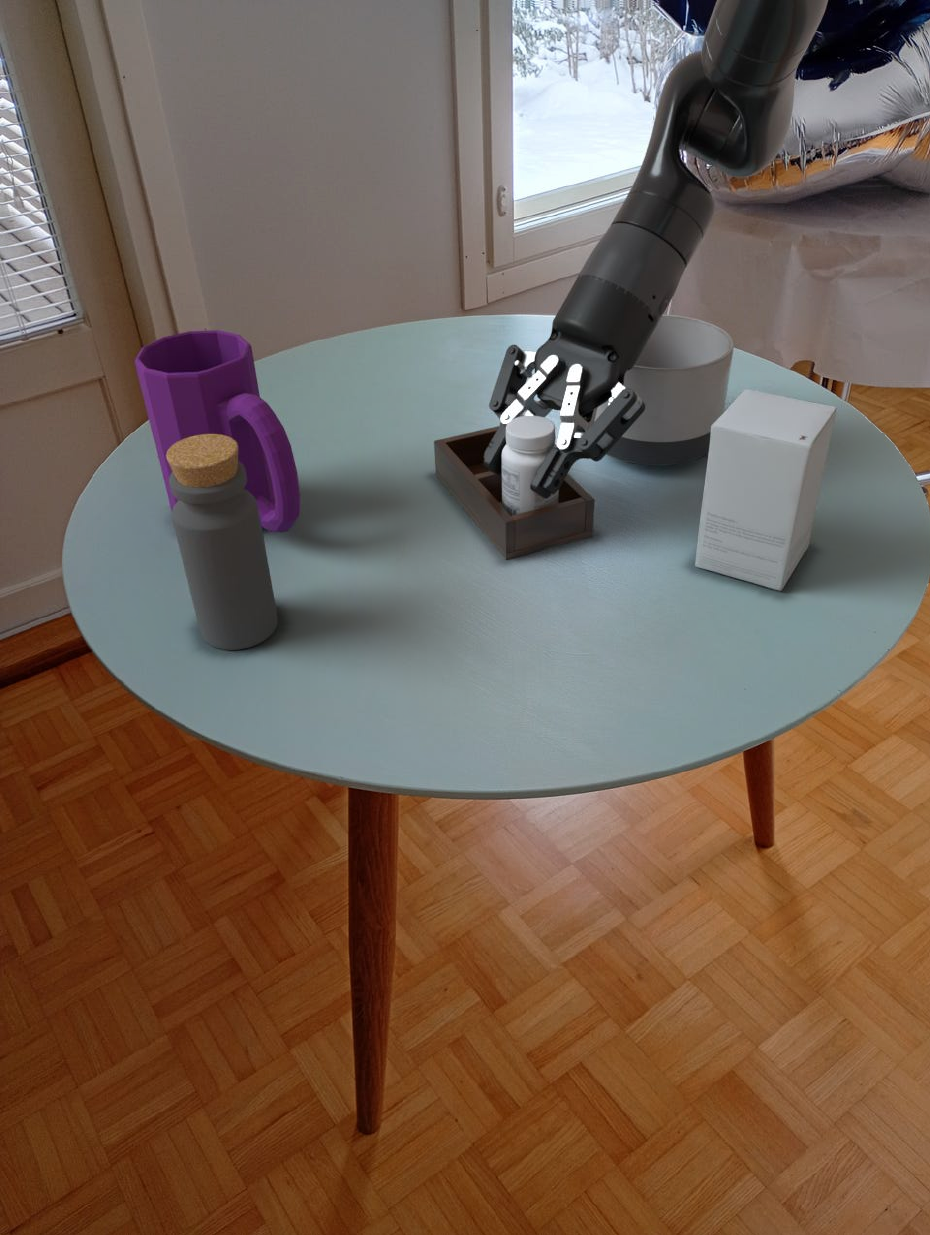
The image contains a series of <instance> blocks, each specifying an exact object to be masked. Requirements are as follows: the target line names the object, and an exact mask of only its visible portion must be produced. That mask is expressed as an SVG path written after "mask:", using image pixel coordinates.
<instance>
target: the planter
mask: <svg viewBox="0 0 930 1235" xmlns="http://www.w3.org/2000/svg"><path fill="white" fill-rule="evenodd" d="M734 348H735V343H734V340H733V337H732V336H731V335H730V334H729V332H727V331H726V330H724V329H723V328H721V327H720V326H717V325H715V324H713V323H711V322H708V321H705V320H702V319H698V318H695V317H689V316H683V315H676V314H675V315H674V314H663V315H662V317H661V319H660V320H659V322H658V324H657V326H656V328H655V329H654V331H653V333H652V335H651V336H650V338H649V340H648V342H647V343H646V345H645V347H644V349H643V350H642V352H641V354H640V356H639V357H638V359H637V361H636V363H635V364H634V366H633V367H632V368H631V369H630V370H628V371H626V373H625V377H624V387H626V388H631V389H632V390H633V391H634V392H635V393H636V394H637V395H638V396H639V397H640V398H641V400H642V401H643V402H644V403H645V406H646V407H645V410H644V412H643V413H642V414H641V415H640V416H639V417H638V419H637V420H636V421H635V422H634V423H633V424H632V425H631V426H630V428H629V429H628V430H627V431H626V432H625V433H624V434H623V435H622V437H621V438H620V439H619V440H618V441H617V442H616V443H615V445H614V446H613V447H612V448H611V449H610V450H609V451H608V452H607V454H606V455H607V456H610V457H612V458H614V459H617V460H620V461H623V462H628V463H633V464H639V465H646V466H647V465H648V466H668V465H669V466H670V465H677V464H684V463H687V462H691V461H694V460H697V459H701V458H703V457H705V456H707V455H709V447H710V436H711V426H712V424H714V422H715V421H716V420H717V419H718V418H719V417H720V416H721V415H722V414H723V413H724V412H725V411H726V402H727V397H728V396H727V395H728V390H729V382H730V375H731V370H732V362H733V356H734ZM608 403H609V401H607V402H605V403H604V404H602V405H600V406H599V407H598V408H597V412H596V416H595V420H596V419H597V418H598V417H599V416H600V415H601V414H602V412H603V411H604V410H605V409H606V408H607V407H608ZM594 422H595V421H594Z"/></svg>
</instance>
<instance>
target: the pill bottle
mask: <svg viewBox="0 0 930 1235" xmlns="http://www.w3.org/2000/svg"><path fill="white" fill-rule="evenodd" d="M556 438H557V437H556V424H555V423H554V421H552V420H551V419H548V418H547V417H540V416H522V417H518V418H515V419H513V420H511V421H510V422H508V424H507V426H506V445H505V447H504V448H503V450H502V507H503V508H504V509H505V510H506V511H507V512H508V513H509V515H510V516H512V515H516V514H520V513H524V512H527V511H531V510H535V509H539V508H543V507H547V506H551V505H555V504H558V498H559V490H558V491H557V492H556V493H555V494H551V495H550V497H549V498H547V499H545V498H543V497H541V496H539V495H538V494H536V493H535V492H533V491H532V490H531V489H530V485H531V483H532V481H533V479H534V477H535V475H536V474H537V472H538V470H539V468H540V467H541V465H542V463H543V461H544V460H545V458H546V456H547V454H548V453H549V451H550V449H551V447H552V448H555V449H556V448H557V443H556V440H557V439H556Z"/></svg>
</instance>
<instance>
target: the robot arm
mask: <svg viewBox="0 0 930 1235" xmlns="http://www.w3.org/2000/svg"><path fill="white" fill-rule="evenodd" d="M828 2H829V0H716V1H715V5H714V7H713V11H712V13H711V16H710V19H709V21H708V24H707V27H706V30H705V34H704V37H703V40H702V44H701V50H697V51H693V52H692V53H689V54H687V55H686V56H684V57H683V58H681V59H680V60H679V61H678V62H677V63H676V64H675V65H674V66H673V68H672V69H671V71H670V73H669V74H668V76H667V77H666V80H665V81H664V84H663V87H662V89H661V92H660V96H659V99H658V105H657V107H656V108H657V109H656V113H655V117H654V121H653V125H652V130H651V134H650V138H649V141H648V144H647V148H646V152H645V154H644V157H643V161H642V163H641V166H640V168H639V170H638V173H637V175H636V178H635V180H634V182H633V184H632V185H631V187H630V189H629V191H628V193H627V195H626V196H625V199H624V201H623V202H622V205H621V206H620V207H619V210H618V211H617V213H616V215H615V217H614V218H613V220H612V222H611V224H610V225H609V227H608V229H607V230H606V232H605V233H604V234H603V236H602V237H601V238H600V240H599V241H598V242H597V243H596V244H595V246H594V248H593V250H592V251H591V253H590V254H589V255H588V258H587V260H586V261H585V263H584V264H583V267H582V269H581V270H580V272H579V273H578V275H577V277H576V279H575V281H574V283H573V285H572V286H571V288H570V290H569V292H568V294H567V295H566V297H565V299H564V300H563V302H562V304H561V306H560V308H559V310H558V311H557V313H556V315H555V316H554V318H553V320H552V325H551V332H550V335H549V337H548V339H547V340H546V341H545V342H544V343H543V344H542V345H540V346H539V347H538V349H536V350H522V349H521V348H520V347H519V345H517V344H511V345H509V346H508V348H507V349H506V351H505V354H504V357H503V361H502V362H501V366H500V369H499V373H498V376H497V378H496V382H495V385H494V388H493V391H492V395H491V397H490V400H489V404H488V408H489V409H490V410H491V411H492V412H493V413H494V414H495V415H496V417H497V418H498V419H499V425H498V426H499V428H498V430H497V431H496V433H495V435H494V437H493V439H492V440H491V442H490V444H489V446H488V447H487V449H486V451H485V454H484V459H485V460H484V463H483V464H484V467H486V468H487V469H488V470H490V471H491V472H493V473H495V474H497V475H502V450H503V448H504V447H505V445H506V426H507V424H508V422H510V421H511V420H513V419H515V418H518V417H522V416H540V417H544V418H547V416H548V415H549V414H550V413H551V412H552V411H553V410H554V411H559V412H560V413H559V419H560V426H559V431H558V436H557V439H556V446H557V448H556V449H555V448H552V447H551V449H550V451H549V453H548V454H547V456H546V458H545V460H544V461H543V463H542V465H541V467H540V468H539V470H538V472H537V474H536V475H535V477H534V479H533V481H532V483H531V485H530V489H531V490H532V491H533V492H535V493H536V494H538V495H539V496H541V497H543V498H545V499H547V498H549V497H550V495H551V494H555V493H556V492H557V491H558V490H559V488H560V486H561V485H562V483H563V481H564V479H565V478H566V476H567V474H568V475H569V473H570V470H571V469H572V467H573V465H574V463H576V462H577V461H579V460H582V459H585V460H587V459H588V460H589V459H590V460H592V461H593V462H600V461H601V460H602V459H603V458H604V457H605V456H606V455H607V452H608V451H609V450H610V449H611V448H612V447H613V446H614V445H615V443H616V442H617V441H618V440H619V439H620V438H621V437H622V435H623V434H624V433H625V432H626V431H627V430H628V429H629V428H630V426H631V425H632V424H633V423H634V422H635V421H636V420H637V419H638V417H639V416H640V415H641V414H642V413H643V412H644V410H645V407H646V406H645V403H644V402H643V401H642V400H641V398H640V397H639V396H638V395H637V394H636V393H635V392H634V391H633V390H632V389H631V388H626V387H624V377H625V373H626V371H628V370H630V369H631V368H632V367H633V366H634V364H635V363H636V361H637V359H638V357H639V356H640V354H641V352H642V350H643V349H644V347H645V345H646V343H647V342H648V340H649V338H650V336H651V335H652V333H653V331H654V329H655V328H656V326H657V324H658V322H659V320H660V319H661V317H662V315H664V313H665V312H666V310H667V309H668V307H669V304H670V303H671V301H672V299H673V297H674V296H675V293H676V291H677V289H678V287H679V284H680V282H681V279H682V276H683V275H684V273H685V271H686V268H688V265H689V264H690V261H691V260H692V258H693V256H694V255H695V253H696V251H697V249H698V248H699V247H700V244H701V243H702V240H703V239H704V238H705V235H706V233H707V232H708V230H709V228H710V227H711V225H712V223H713V220H714V218H715V216H716V215H715V214H716V212H717V204H716V200H715V197H714V196H713V194H712V192H711V190H709V188H708V186H706V185H705V184H704V183H703V181H701V180H700V178H698V177H697V176H696V175H695V173H693V172H692V171H691V170H690V169H689V168H688V167H687V166H686V164H685V163H684V161H683V160H682V156H681V151H683V152H686V153H687V154H688V155H690V156H693V157H694V158H696V159H697V160H700V161H702V162H703V163H705V164H707V165H709V166H711V167H713V168H714V169H716V170H718V171H720V172H722V173H723V174H726V175H728V176H730V177H732V178H733V177H734V178H738V179H742V178H743V179H744V178H748V177H753V176H755V175H757V174H760V173H761V172H762V171H764V170H765V169H766V168H767V167H769V166H770V164H771V163H772V162H773V161H774V160H775V159H776V157H777V156H778V154H779V153H780V150H781V149H782V147H783V145H784V143H785V141H786V138H787V135H788V132H789V129H790V125H791V120H792V116H793V109H794V101H795V84H796V75H797V69H798V68H799V65H800V63H801V61H802V59H803V57H804V55H805V53H806V51H807V49H808V48H809V46H810V43H811V42H812V40H813V38H814V36H815V34H816V32H817V30H818V28H819V25H820V24H821V22H822V20H823V17H824V14H825V12H826V10H827V6H828ZM533 371H534V373H533ZM536 396H537V397H536ZM535 397H536V398H537V399H539V400H535ZM607 401H609V403H608V407H607V408H606V409H605V410H604V411H603V412H602V414H601V415H600V416H599V417H598V418H597V419H596V420H595V416H596V412H597V408H598V407H599V406H600V405H602V404H604V403H605V402H607ZM594 421H595V422H594Z"/></svg>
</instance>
